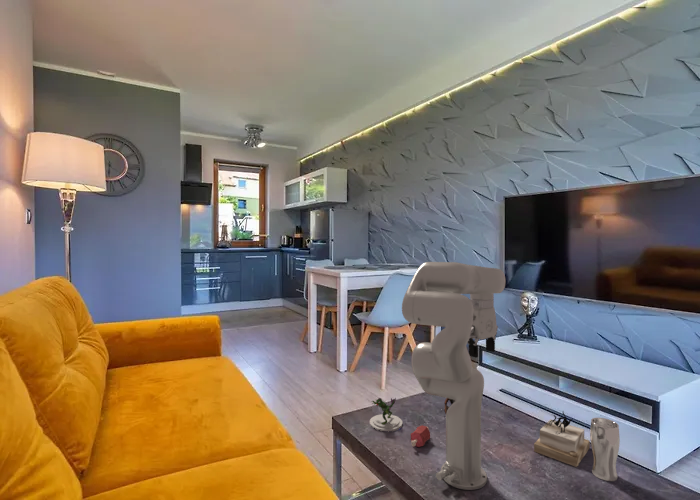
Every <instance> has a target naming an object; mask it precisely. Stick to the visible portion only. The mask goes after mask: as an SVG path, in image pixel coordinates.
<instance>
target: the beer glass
mask: <svg viewBox="0 0 700 500" xmlns="http://www.w3.org/2000/svg"><path fill="white" fill-rule="evenodd" d="M589 432H590V433H589V436H590V437H589V438H590V440H589V441H590V447H591V452H592V456H593V457H592V458H593V462H592V463H593V464H592V468H591V472H592V474H593V476H595V477H596V478H598V479H600V480H602V481H606V482H616V481H617V480H618V473H617V467H616V465H617V459H618V456H619V451H620V445H621V444H620V442H621V441H620V426H619V424H618V423H617V422H616V421H614V420H611V419H608V418H604V417H592V419H590V430H589Z"/></svg>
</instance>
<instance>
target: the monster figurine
mask: <svg viewBox="0 0 700 500" xmlns="http://www.w3.org/2000/svg"><path fill="white" fill-rule="evenodd" d="M396 399H397V398H396V397H395V398H393V399H392V397H390V403H391V404H390V405H389V404H387V403H386V401H384V400H383V399H382V398H381V397H378V399H375V401H374V400H371V405H372V406H375V405H376V406H378V407H379V408H381V411H382V412H383V413H381V414H377V415H374V416H372V417H371V418H370V419H369V426H370V425H371V426H372V427H373V428H375V429H377V430H376V431H378V430H380V431H379V432H382V431H388V432H387V433H389V431H392V432H396V431H398V430H400V429H401V428H402V427H403V420H402V418H400V417H399V416H398V415H393V412H392V411H391V410H392V408H393V406H394V405H395V403H396ZM371 426H370V427H371ZM372 427H371V428H372ZM373 428H372V429H373ZM375 429H374V430H375Z"/></svg>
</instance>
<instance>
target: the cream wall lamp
mask: <svg viewBox="0 0 700 500" xmlns="http://www.w3.org/2000/svg"><path fill="white" fill-rule="evenodd" d="M551 420H553V419H549V420H548V421H547V422H548V423H549V421H551ZM556 421H557V420H555V421H554V422H556ZM551 422H552V425H551V426H550V424H551ZM551 422H550V424H548V425H547V424H546V423H545V424H544V425H542V427H541V428H540V429H539V438H538V439H537V440H536V441H535V442H534V443H533V452H535V453H536V454H540V455H543V456H546V457H548V458H550V459H553V460H557V461H559V462H562V463H565V464H567V465H570V466H573V467H575V468H577V467H578V466H579V465H580V463H581V461H582V460H583V459H584V457H585V456H586V455H587V453H588V451H589V450H590V448H591V440H589V439H586V438H585V428H582V427H578V426H575V425H572V424H569V425H568V426H567V427H565V432H563V431H564V425H563V424H561V423H562V422H563V421H561V422H560V423H559V425H560V424H561V427H558V426H559V425H558V426H556V425H555V424H554V422H553V421H551ZM545 425H546V426H547V427H546V426H545ZM544 426H545V427H546V428H545V427H544ZM553 426H554V427H553ZM561 428H562V432H561V433H560V431H561ZM556 432H557V433H556ZM559 433H560V434H559Z"/></svg>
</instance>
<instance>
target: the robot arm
mask: <svg viewBox="0 0 700 500" xmlns="http://www.w3.org/2000/svg"><path fill="white" fill-rule="evenodd" d="M416 269H417V270H416V271H415V273H414V274H413V276H412V278H411V280H410V283H409V285H408V288H407V290H406V292H405V293H404V297H403V299H402V303H401V312H402V313H401V314H402V316H403V318H404V319H405V320H406V321H407V322H408V323H410V324H415V325H422V326H423V325H424V326H433V327H441V328H442V330H440V331H438V333H437V334H436V335H435V336H434V338H433V339H432V341H431V342H426V341H424V342H420V343H418V344H416V345H415V346H414V349H412V350H413V351H412V354H411V368H412V372H413V375H414V376H415V378H416V381H417V382H418V384H419V385H420V388H421V389H422V390H423V392H425V393H426V394H427V395H431V396H435V397H439V398H440V397H441V398H449V399H453V400H455V402H454V403H453V404H452V405H451V404H450V406H448V407H449V408H448V410H447V413H446V414H445V458H446V459H445V462H444V463H443V464H442V465H441V468H440V471H438V472H436V473H435V478H436V479H437V480H438V481H440V482H441V481H442V480H443V481H444V482H445V483H447V484H448V485H450V486H451V487H453V488H456V489H460V490H465V491H475V490H479V489H481V488H483V487H484V486H485V485H486V484H487V482H488V476H487V472H486V471H485V470H484V468H482V427H481V426H482V425H481V423H482V422H481V421H482V418H481V417H482V403H483V394H484V390H485V389H484V387H485V379H484V375H483V373H482V372H481V371H480V370H478V369H477V368H474V367H473V362H472V358H478V357H479V345H478V343H479V340H485V350H486V351H488V352H492V353H495V352H496V340H497V338H496V336H497V334H498V329H499V326H498V325H497V314H496V310H495V307H494V302H495V301H494V294H501V293H502V292H504V289H505V287H506V276H505V273H504V271H503V270H502V269H500V268H494V267H486V266H481V265H473V264H466V263H462V262H457V261H449V262H447V261H426V262H423V263H422V264H421V265H420V266H419V267H418V268H416ZM466 295H469V296H470V297H468V296H466ZM467 345H468V347H467ZM471 357H472V358H471Z"/></svg>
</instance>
